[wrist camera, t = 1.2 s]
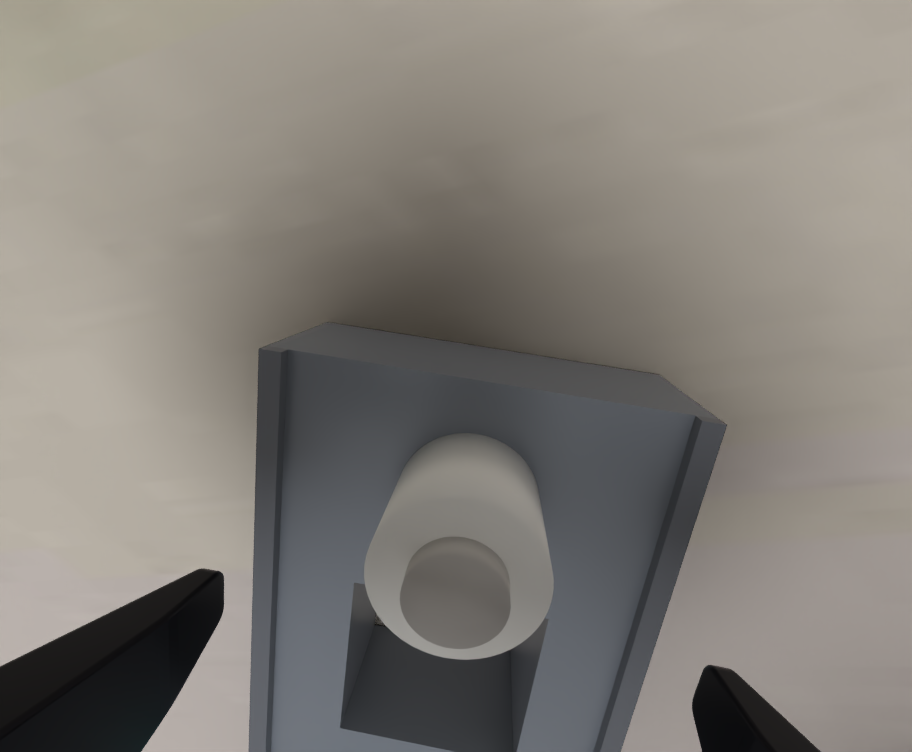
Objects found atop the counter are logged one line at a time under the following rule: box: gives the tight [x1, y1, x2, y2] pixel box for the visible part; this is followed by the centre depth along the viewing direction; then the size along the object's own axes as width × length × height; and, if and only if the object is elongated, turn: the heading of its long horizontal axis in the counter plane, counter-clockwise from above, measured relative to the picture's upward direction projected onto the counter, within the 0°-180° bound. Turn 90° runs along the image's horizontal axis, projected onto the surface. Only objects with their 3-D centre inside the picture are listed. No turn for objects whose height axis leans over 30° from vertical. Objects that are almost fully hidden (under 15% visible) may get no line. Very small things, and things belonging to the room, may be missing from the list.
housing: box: [249, 322, 727, 752], centre depth 17 cm, size 12×24×5 cm, turn 172°
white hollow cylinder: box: [364, 433, 554, 660], centre depth 11 cm, size 4×4×4 cm
